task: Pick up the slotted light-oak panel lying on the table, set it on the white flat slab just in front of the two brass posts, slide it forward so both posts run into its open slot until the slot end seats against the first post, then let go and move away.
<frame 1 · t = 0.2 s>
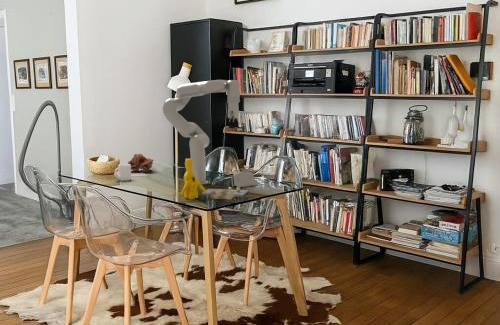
hand: (233, 127, 327), 37 cm above the table, tool pointing down, fingers open, 9 cm apart
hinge: (243, 185, 331), on the table
mineral specimen: (141, 171, 390), on the table
mug: (122, 180, 350), on the table
brass posts: (234, 189, 302), on the white flat slab, point 2 cm above the table
figure statuette: (191, 198, 290), on the table
white flat slab: (225, 193, 303), on the table
oak panel: (222, 198, 290), on the table
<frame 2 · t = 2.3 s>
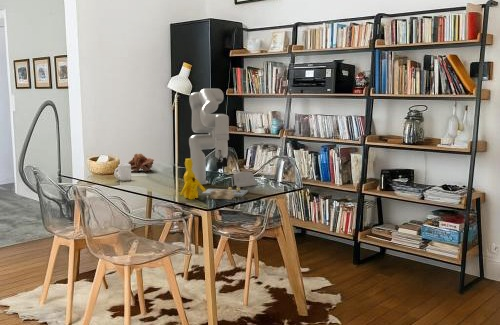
hand: (222, 167, 289), 17 cm above the table, tool pointing down, fingers open, 9 cm apart
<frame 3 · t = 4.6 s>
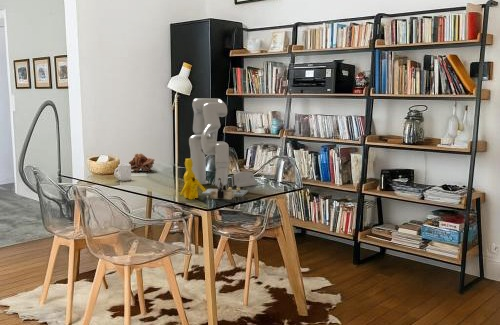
hand: (222, 196, 290), 1 cm above the table, tool pointing down, fingers closed on oak panel, 6 cm apart
oak panel: (222, 197, 290), on the table, touching gripper
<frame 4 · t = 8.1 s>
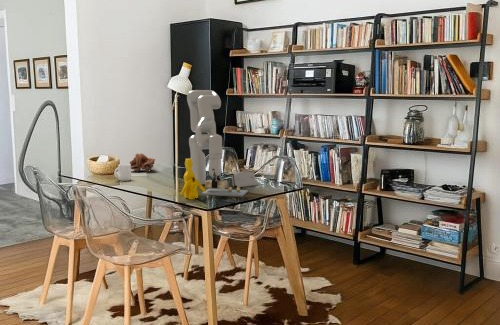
hand: (216, 186, 304), 4 cm above the table, tool pointing down, fingers closed on oak panel, 6 cm apart
oak panel: (216, 187, 304), point 3 cm above the table, touching gripper
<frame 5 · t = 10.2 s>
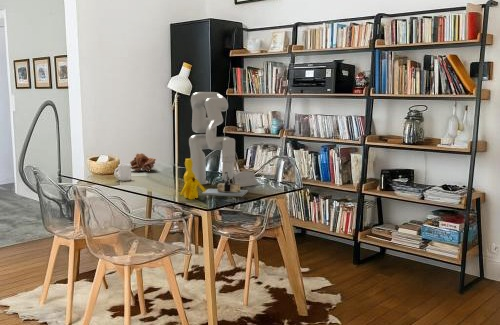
hand: (228, 189, 303), 2 cm above the table, tool pointing down, fingers closed on oak panel, 6 cm apart
oak panel: (228, 190, 303), point 2 cm above the table, touching gripper
when the fingers open (2 cm above the table, at t = 12.1 s): oak panel stays where it is, resting on white flat slab.
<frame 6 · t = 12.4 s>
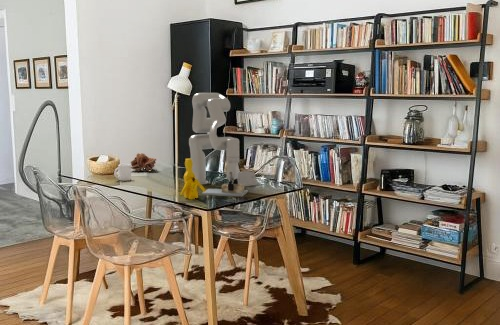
hand: (233, 188, 302), 3 cm above the table, tool pointing down, fingers open, 9 cm apart
oak panel: (233, 191, 302), point 1 cm above the table, touching white flat slab
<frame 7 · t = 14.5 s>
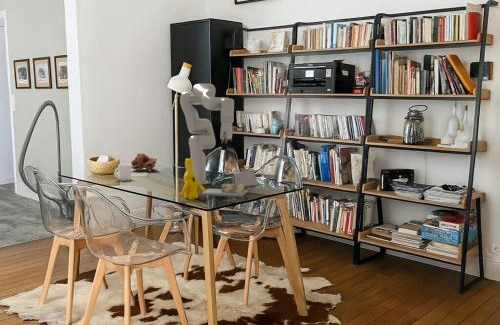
hand: (226, 148, 306), 26 cm above the table, tool pointing down, fingers open, 9 cm apart
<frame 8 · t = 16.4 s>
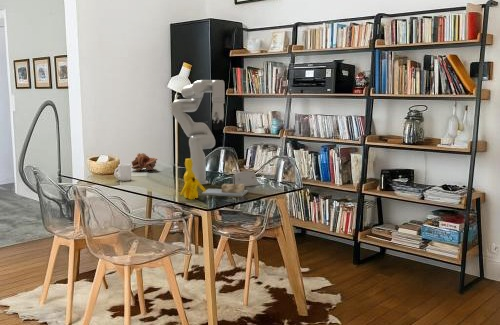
hand: (218, 129, 315), 36 cm above the table, tool pointing down, fingers open, 9 cm apart
at the end: oak panel 0.2 cm from the target spot on the white flat slab, point 1.2 cm above the white flat slab's base; oak panel tilted 0°; the gripper is holding nothing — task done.
